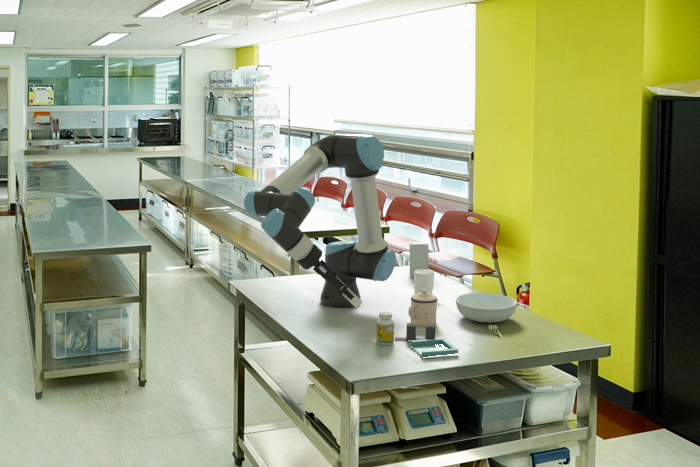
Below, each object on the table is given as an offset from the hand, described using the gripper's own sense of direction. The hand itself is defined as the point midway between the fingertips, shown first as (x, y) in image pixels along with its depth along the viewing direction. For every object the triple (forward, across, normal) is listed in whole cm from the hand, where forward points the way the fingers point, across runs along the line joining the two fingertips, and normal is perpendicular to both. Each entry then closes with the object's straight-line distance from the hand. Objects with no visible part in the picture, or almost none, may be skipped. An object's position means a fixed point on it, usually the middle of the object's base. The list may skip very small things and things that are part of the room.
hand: (353, 298), depth 217 cm
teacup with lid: (+31, -17, +10) cm, 36 cm away
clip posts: (+26, 0, +5) cm, 27 cm away
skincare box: (+47, -84, +26) cm, 100 cm away
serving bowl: (+48, -17, +26) cm, 57 cm away
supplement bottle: (+18, 0, -3) cm, 18 cm away
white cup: (+40, -50, +19) cm, 67 cm away
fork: (+45, +4, +23) cm, 51 cm away
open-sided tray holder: (+26, +11, +6) cm, 29 cm away
